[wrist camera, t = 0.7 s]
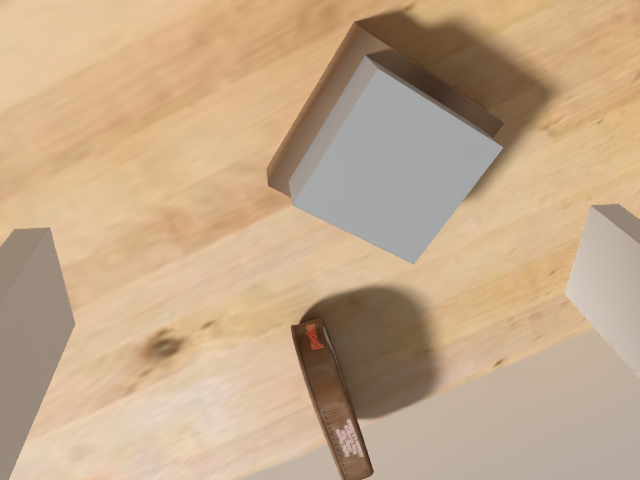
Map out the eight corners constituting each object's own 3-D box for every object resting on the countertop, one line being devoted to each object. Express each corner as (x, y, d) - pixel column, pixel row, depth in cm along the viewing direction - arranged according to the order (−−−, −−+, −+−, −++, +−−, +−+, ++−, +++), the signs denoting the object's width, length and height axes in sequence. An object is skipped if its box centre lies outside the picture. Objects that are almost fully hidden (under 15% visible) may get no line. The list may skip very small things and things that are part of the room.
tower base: (266, 165, 38) (268, 185, 35) (352, 20, 34) (363, 29, 31) (392, 230, 42) (403, 254, 39) (483, 107, 38) (503, 123, 35)
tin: (284, 304, 43) (293, 380, 36) (322, 293, 43) (338, 367, 36) (330, 427, 51) (345, 510, 44) (362, 418, 51) (382, 499, 44)
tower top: (288, 181, 35) (292, 205, 32) (365, 55, 31) (377, 68, 28) (400, 237, 38) (413, 264, 35) (481, 128, 35) (503, 147, 32)
